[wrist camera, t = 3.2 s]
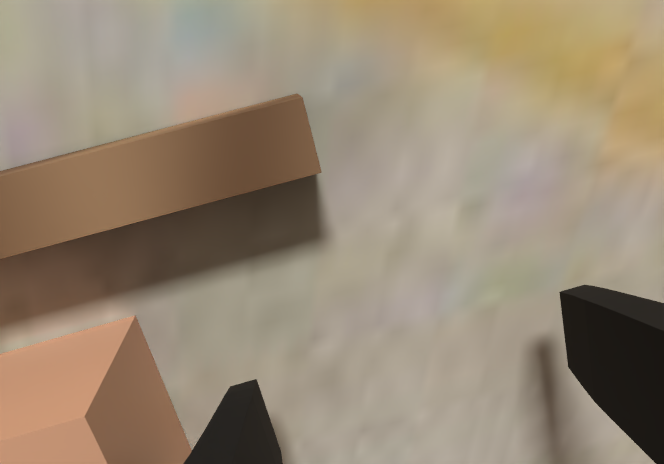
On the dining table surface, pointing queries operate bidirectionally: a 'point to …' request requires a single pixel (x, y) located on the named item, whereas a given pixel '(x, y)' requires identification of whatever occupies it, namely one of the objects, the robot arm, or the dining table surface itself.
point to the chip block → (88, 401)
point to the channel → (154, 174)
